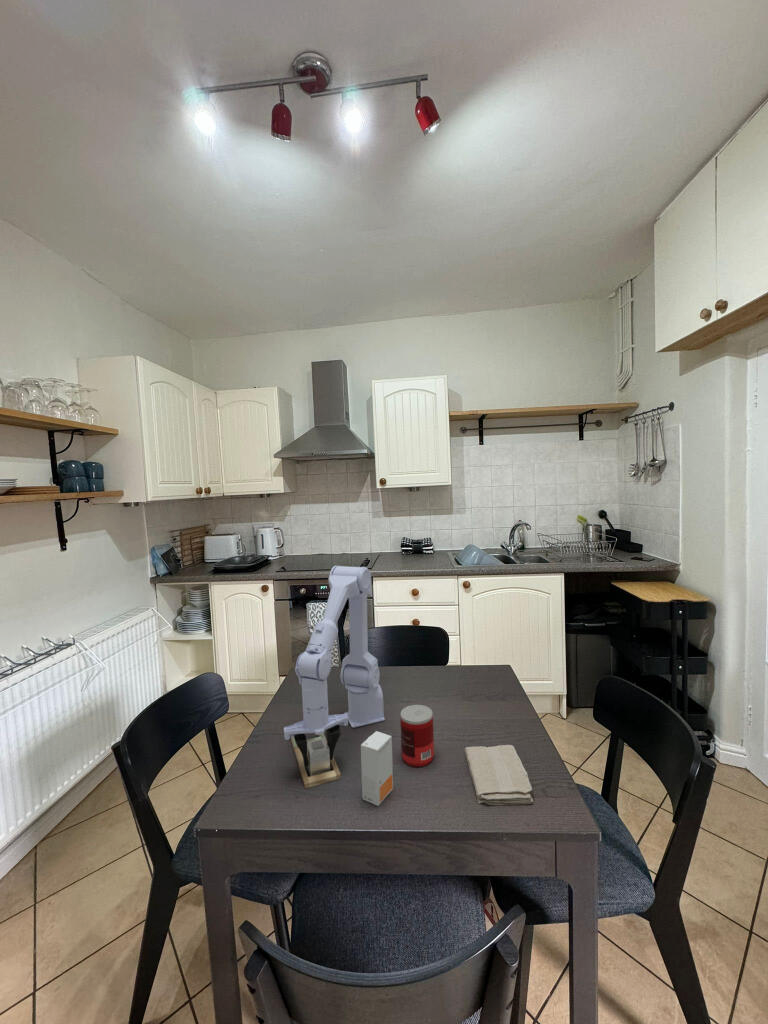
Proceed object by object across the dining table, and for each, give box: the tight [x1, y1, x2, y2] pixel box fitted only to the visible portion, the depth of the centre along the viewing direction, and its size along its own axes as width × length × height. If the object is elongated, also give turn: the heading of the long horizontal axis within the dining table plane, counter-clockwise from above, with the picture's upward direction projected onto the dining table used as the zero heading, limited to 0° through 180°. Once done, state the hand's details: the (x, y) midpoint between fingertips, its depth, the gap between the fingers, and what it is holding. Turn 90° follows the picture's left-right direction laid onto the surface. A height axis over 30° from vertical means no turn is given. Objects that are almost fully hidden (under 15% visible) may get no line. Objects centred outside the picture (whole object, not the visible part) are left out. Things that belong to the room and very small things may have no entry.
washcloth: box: [463, 744, 534, 806], centre depth 97 cm, size 12×18×3 cm, turn 0°
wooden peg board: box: [290, 732, 342, 789], centre depth 107 cm, size 8×24×1 cm, turn 21°
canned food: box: [399, 704, 435, 768], centre depth 104 cm, size 8×8×11 cm
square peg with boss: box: [306, 737, 331, 777], centre depth 101 cm, size 4×4×6 cm
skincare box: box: [360, 730, 394, 807], centre depth 92 cm, size 6×4×12 cm
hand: (318, 760), depth 101 cm, fingers open, 5 cm apart
